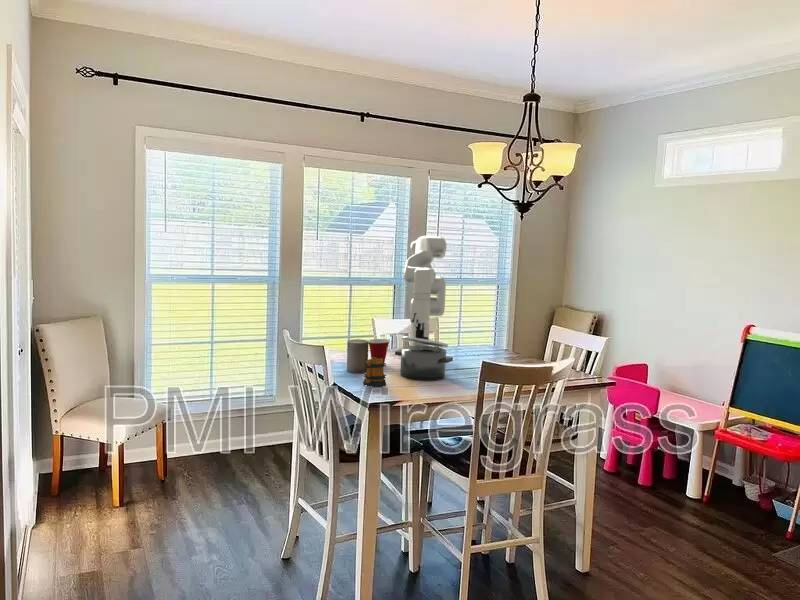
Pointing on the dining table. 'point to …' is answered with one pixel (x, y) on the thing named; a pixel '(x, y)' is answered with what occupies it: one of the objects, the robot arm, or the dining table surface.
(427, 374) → the pot
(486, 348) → the dining table surface
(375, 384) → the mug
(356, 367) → the pillar candle
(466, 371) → the dining table surface
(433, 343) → the lid
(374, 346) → the plastic cup
